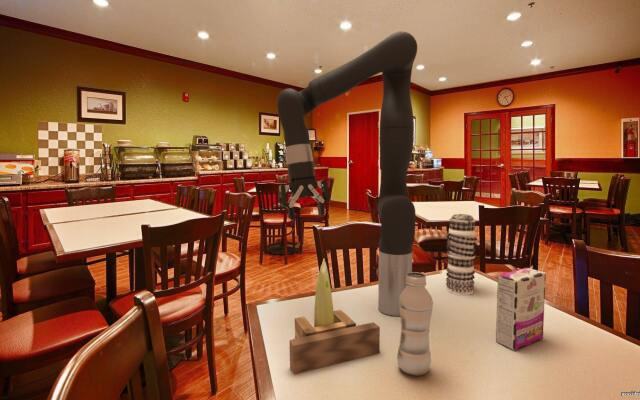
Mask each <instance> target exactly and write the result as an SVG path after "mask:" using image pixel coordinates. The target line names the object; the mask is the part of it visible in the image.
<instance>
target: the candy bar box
mask: <svg viewBox="0 0 640 400" xmlns="http://www.w3.org/2000/svg"><path fill="white" fill-rule="evenodd" d="M546 275H547V273H546V272H544V271H542V270H538V269H534V268H530V267H524V268H521V269H516V270H513V271H508V272H505V273H501V274H498V275H497V290H496V291H497V294H496V327H495V342H496V343H497V344H499V345H501V346H504V347H506V348H508V349H509V350H512V351H513V352H515V351H517V350H521V349H522V348H525V347H527V346H530V345H532V344H534V343H537V342H538V341H540V340H543V339H544V319H545V318H544V317H545V299H546V295H545V294H546Z"/></svg>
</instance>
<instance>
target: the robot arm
mask: <svg viewBox="0 0 640 400" xmlns="http://www.w3.org/2000/svg"><path fill="white" fill-rule="evenodd" d="M417 53H418V44H417V40H416V38H415V37H414V36H413V35H412V34H411V32H408V31H396V32H393V33H392V34H389V35H388V36H386V37H385V38H384V39H383V40H381V41H380V42H378V43H376V45H374V46H373V47H371V48H370V49H369V50H367V51H365V52H363V53H362V54H360V55H358V56H357V57H355V58H352V59H351V60H350V61H347V62H346V63H344V64H342V65H340V66H339V67H336V68H334V69H332V70H330V71H328V72H325V73H324V74H321V75H320V76H317V77H315V78H314V79H312V80H310V81H309V83H308V85H307V86H306V87H305V88H303V89H301V90H300V91H298V90H296V89H294V88H289V87H288V88H284V89H283V90H281V91H280V92H279V94H278V96H277V101H276V107H277V112H278V117H279V120H280V123H281V127H282V130H283V138H284V140H283V141H284V146H285V162H286V167H287V176H288V182H289V183H288V184H281V185H278V197H279V198H278V199H279V205H280V207H283V208H286V209H287V216H288V220H290V222H295V221H296V219H297V218H296V214H295V213H296V212H295V207H294V206H295V203H296V202H297V201H298V199H303V198H309V197H311V198H312V199H313V200H315V201H316V202H317V204H316V206H317V213H318V217H324V215H326V209H325V202H327V201H329V200H330V192H329V188H328V183H327V182H328V181H327V180H326V179H321V180H316V171H315V166H314V157H313V151H312V147H311V141H310V135H309V134H310V133H309V129H308V127H307V125H306V122H305V117H304V116H305V115H307V114H309V113H310V112H312V111H315V109H316V108H318V107H319V106H321V105H323V104H325V103H328V102H329V101H332V100H334V99H336V98H339V97H340V96H343V95H344V94H346V93H348V92H349V91H351V90H352V89H354V88H355V87H357V86H358V85H359V84H361V83H362V82H364V81H366V80H368V79H370V78H371V77H373V76H376V75H377V74H380V73H381V75H382V92H383V95H382V102H381V110H380V116H379V117H380V119H379V135H378V137H379V138H378V139H379V140H378V141H379V165H380V185H379V193H378V196H379V197H378V202H377V212H378V213H377V214H378V216H379V219H380V220H381V221H380V239H379V241H378V290H377V291H378V297H377V299H378V300H377V302H378V306H377V307H378V310H379V311H380V312H381V313H383V314H385V315H388V316H393V317H394V316H395V317H401V315H400V306H399V298H400V295H401V293H402V292H403V290H404V289H405V288H406V287H407V284H406V275H407V273H411V272H413V246H414V243H415V240H416V239H415V237H416V236H415V235H416V222H417V221H416V206H415V205H414V202H413V201H412V200H411V199H410V198H408V190H407V177H408V170H409V166H410V163H411V159H412V155H413V148H414V141H415V140H414V139H415V138H414V136H415V135H414V132H415V129H414V127H415V124H414V123H415V122H414V121H415V120H414V112H413V105H412V99H411V80H412V71H413V65H414V63H415V60H416V56H417ZM317 187H318V188H319V189H320V192H321V194H320V193H319V192H318V191H317V190H316V189H317ZM288 190H289V191H290V192H291V195H290V197H289V200H288V202H287V194H286V193H287V192H288Z"/></svg>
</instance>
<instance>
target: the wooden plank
mask: <svg viewBox="0 0 640 400" xmlns="http://www.w3.org/2000/svg"><path fill="white" fill-rule="evenodd" d="M380 329H381V328H380V326H379V325H378V324H377V323H375V322H369V323H365V324H363V323H362V324H359V325H356V326H354V327H349V328H344V329H339V330H335V331H330V332H325V333H320V334H316V335H311V336H306V337H301V338H296V339H295V338H291V339H289V342H288V343H289V369H290V370H291V372H292V373H293V375H296V374H301V373H304V372H308V371H312V370H316V369H320V368H324V367H327V366H332V365H336V364H340V363H344V362H348V361H352V360H356V359H360V358H363V357H364V358H365V357H369V356H372V355H376V354H380V352H381V351H380V342H381V340H380V337H381V336H380V333H381V330H380Z"/></svg>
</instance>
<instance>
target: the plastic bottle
mask: <svg viewBox="0 0 640 400" xmlns="http://www.w3.org/2000/svg"><path fill="white" fill-rule="evenodd" d="M426 276H427V275H426V274H424V273H422V272H416V271H414V272H413V271H412V272H411V273H407V275H406V284H407V287H406V288H405V289H404V290H403V292H402V293H401V295H400V298H399V306H400V315H401V316H400V337H399V338H400V339H399V346H398V349H397V355H396V359H397V365H398V366H399V368H400V370H401V371H402V372H404V373H405V374H407V375H411V376H422V375H426V374H427V373H428V371H429V370H430V367H431V363H432V354H431V350H430V335H429V334H430V324H431V318H432V312H433V306H434V301H433V296H432V295H431V294H430V291H428V289H427V288H426V286H427V277H426Z"/></svg>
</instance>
